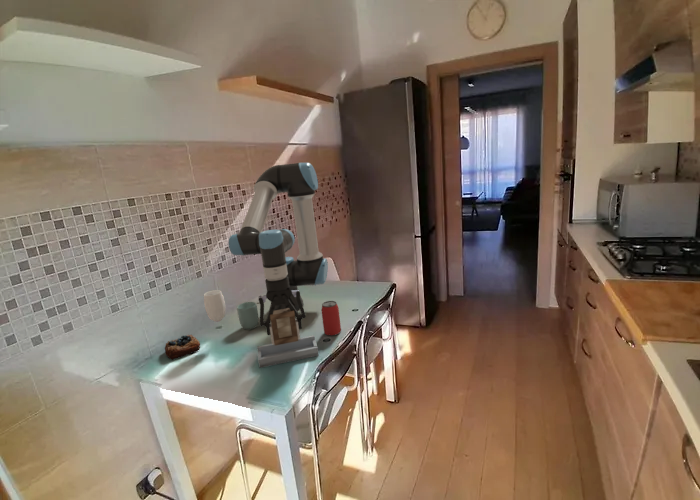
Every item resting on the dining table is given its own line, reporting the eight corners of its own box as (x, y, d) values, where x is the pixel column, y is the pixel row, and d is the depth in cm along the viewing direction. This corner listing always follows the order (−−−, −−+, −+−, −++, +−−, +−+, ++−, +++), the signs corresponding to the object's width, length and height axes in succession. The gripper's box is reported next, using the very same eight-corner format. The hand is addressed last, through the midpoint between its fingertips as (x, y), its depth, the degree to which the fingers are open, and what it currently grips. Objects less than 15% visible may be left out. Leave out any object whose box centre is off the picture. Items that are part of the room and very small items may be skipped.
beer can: (328, 338, 139) (324, 308, 137) (321, 331, 145) (318, 303, 142) (344, 332, 142) (340, 303, 139) (336, 326, 148) (333, 298, 145)
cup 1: (221, 337, 149) (211, 288, 144) (236, 339, 146) (226, 289, 141) (208, 346, 142) (198, 295, 137) (223, 348, 140) (213, 296, 135)
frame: (274, 345, 125) (269, 315, 122) (274, 341, 128) (269, 311, 125) (298, 340, 126) (294, 310, 124) (297, 336, 130) (293, 307, 127)
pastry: (163, 352, 142) (160, 338, 141) (195, 340, 149) (192, 327, 147) (169, 362, 133) (166, 348, 132) (203, 350, 140) (200, 336, 139)
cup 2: (263, 324, 157) (260, 302, 155) (251, 332, 151) (247, 309, 148) (249, 322, 161) (245, 301, 158) (236, 330, 154) (232, 308, 151)
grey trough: (259, 368, 123) (257, 355, 122) (259, 357, 130) (257, 345, 129) (318, 355, 127) (317, 342, 126) (315, 346, 134) (313, 334, 133)
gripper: (243, 285, 116) (255, 351, 121) (309, 275, 120) (317, 339, 126) (244, 279, 123) (255, 341, 128) (306, 269, 128) (314, 329, 133)
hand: (286, 340), depth 127 cm, fingers closed on frame, 8 cm apart
